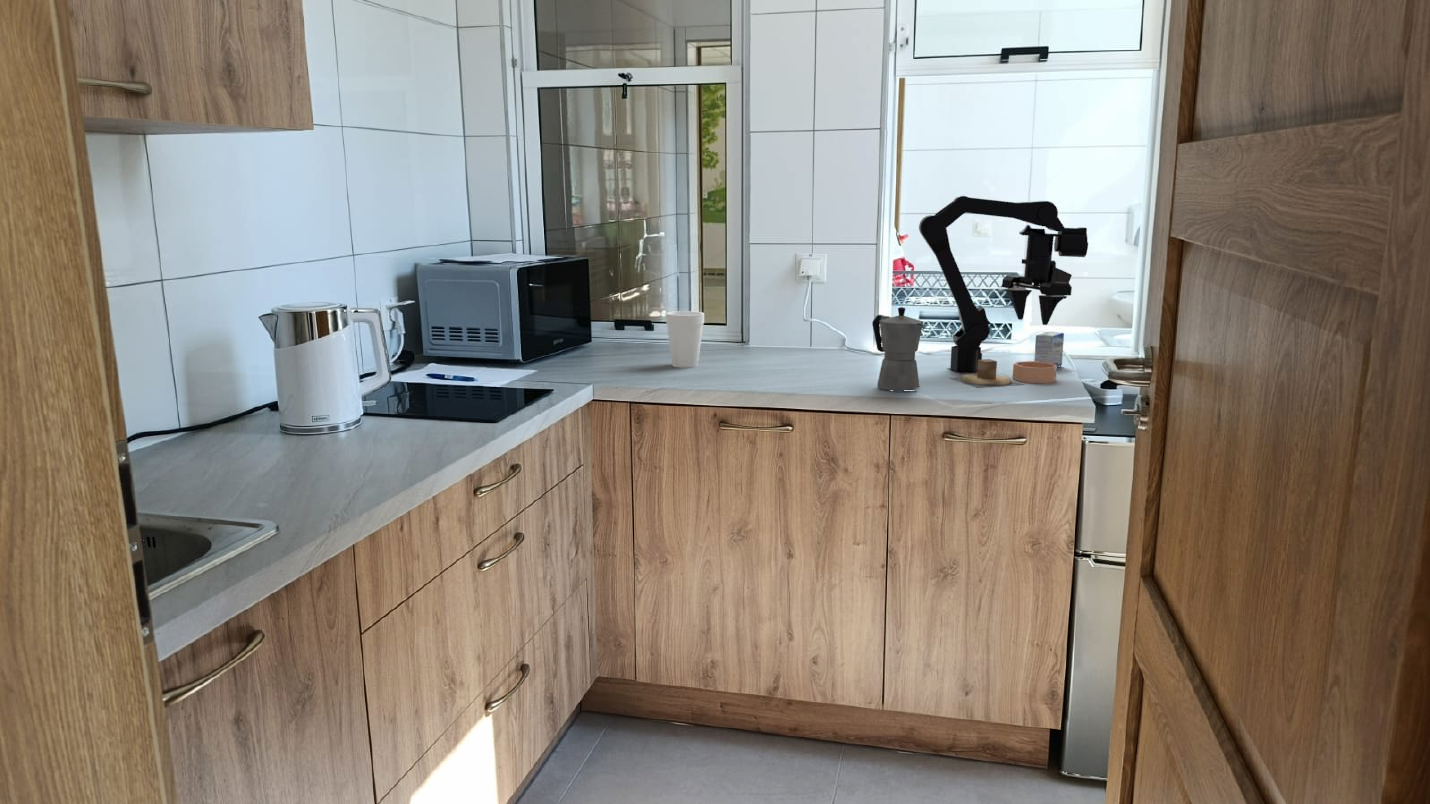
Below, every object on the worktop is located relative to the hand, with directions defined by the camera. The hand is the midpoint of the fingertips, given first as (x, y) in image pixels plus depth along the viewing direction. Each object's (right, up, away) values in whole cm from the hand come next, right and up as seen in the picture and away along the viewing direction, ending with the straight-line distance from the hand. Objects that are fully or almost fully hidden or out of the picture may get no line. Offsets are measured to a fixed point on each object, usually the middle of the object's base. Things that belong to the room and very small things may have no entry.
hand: (1032, 322), depth 240 cm
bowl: (-2, -14, -7) cm, 16 cm away
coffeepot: (-35, -16, -14) cm, 41 cm away
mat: (-13, -15, -9) cm, 22 cm away
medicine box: (+7, -11, +12) cm, 17 cm away
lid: (-13, -14, -10) cm, 22 cm away
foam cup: (-82, -10, +12) cm, 84 cm away
